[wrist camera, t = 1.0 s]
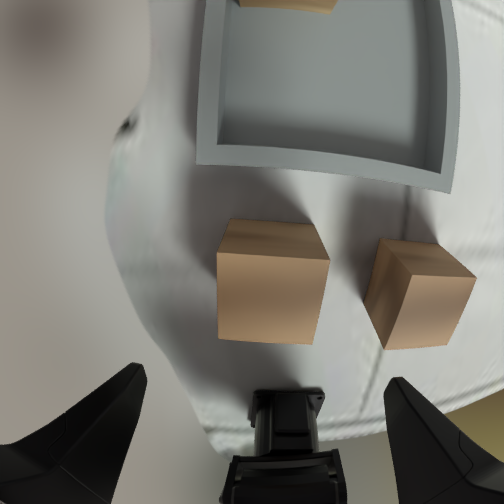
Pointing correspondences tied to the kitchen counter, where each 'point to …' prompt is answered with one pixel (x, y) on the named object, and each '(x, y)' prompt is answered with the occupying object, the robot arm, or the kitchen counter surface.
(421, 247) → the block
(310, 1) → the block
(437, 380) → the kitchen counter surface
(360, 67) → the tray
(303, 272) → the block
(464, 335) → the kitchen counter surface
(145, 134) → the kitchen counter surface
